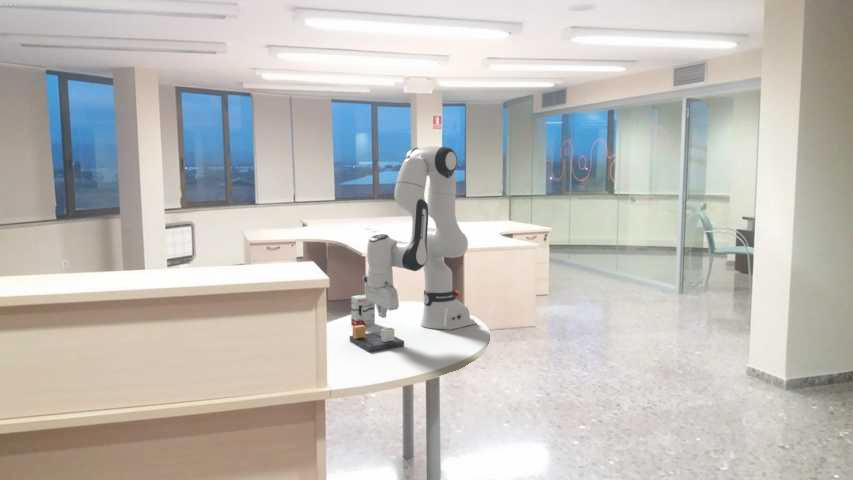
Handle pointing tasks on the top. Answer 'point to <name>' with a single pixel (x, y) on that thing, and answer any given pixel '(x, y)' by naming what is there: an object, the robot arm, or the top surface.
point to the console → (376, 342)
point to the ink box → (362, 311)
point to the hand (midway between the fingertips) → (382, 316)
